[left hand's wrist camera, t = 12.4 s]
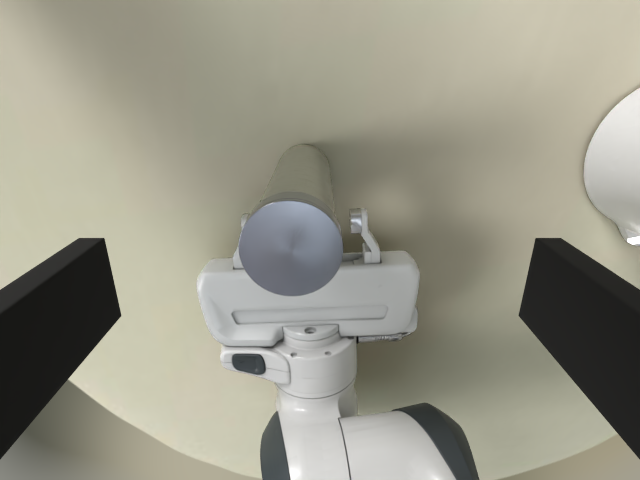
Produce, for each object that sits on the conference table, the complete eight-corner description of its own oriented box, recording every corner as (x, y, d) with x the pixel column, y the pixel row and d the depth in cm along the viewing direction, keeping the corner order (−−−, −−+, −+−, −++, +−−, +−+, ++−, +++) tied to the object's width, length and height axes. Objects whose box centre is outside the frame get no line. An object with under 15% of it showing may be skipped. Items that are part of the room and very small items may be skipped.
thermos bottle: (335, 186, 40) (349, 275, 22) (287, 201, 41) (263, 298, 23) (321, 137, 38) (323, 190, 20) (271, 153, 39) (229, 218, 21)
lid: (352, 267, 24) (355, 281, 22) (263, 291, 24) (259, 307, 22) (325, 178, 22) (326, 186, 20) (229, 207, 22) (222, 217, 20)
